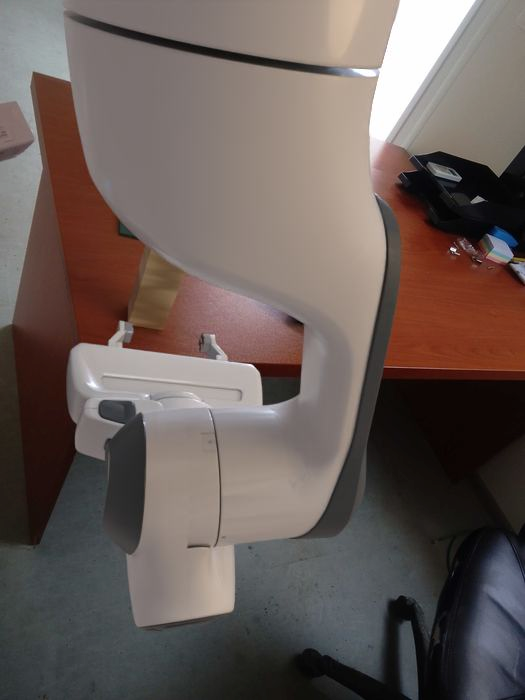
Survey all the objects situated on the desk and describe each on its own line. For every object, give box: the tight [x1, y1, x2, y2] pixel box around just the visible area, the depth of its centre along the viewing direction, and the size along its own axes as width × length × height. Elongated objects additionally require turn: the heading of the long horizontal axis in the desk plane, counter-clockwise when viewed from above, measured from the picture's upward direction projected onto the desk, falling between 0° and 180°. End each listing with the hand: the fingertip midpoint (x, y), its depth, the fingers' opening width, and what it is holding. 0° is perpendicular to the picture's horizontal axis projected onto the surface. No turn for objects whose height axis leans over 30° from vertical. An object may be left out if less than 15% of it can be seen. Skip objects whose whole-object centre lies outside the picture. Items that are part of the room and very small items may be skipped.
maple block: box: [127, 244, 187, 331], centre depth 61 cm, size 5×4×15 cm
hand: (167, 331), depth 52 cm, fingers open, 8 cm apart
